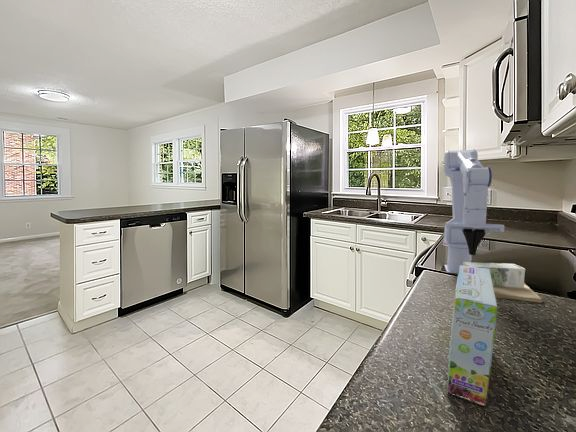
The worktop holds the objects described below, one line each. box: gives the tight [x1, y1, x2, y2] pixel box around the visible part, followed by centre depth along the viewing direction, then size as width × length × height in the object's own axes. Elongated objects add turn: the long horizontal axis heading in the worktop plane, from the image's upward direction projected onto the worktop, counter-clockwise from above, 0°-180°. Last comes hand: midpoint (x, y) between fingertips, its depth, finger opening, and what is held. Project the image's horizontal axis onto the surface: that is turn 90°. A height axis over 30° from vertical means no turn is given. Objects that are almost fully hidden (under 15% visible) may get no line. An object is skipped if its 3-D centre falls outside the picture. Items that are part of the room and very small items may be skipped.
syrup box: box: [463, 261, 526, 288], centre depth 87 cm, size 6×6×14 cm
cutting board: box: [493, 282, 543, 303], centre depth 85 cm, size 14×14×1 cm
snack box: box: [446, 265, 498, 404], centre depth 50 cm, size 21×6×15 cm, turn 148°
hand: (471, 254), depth 87 cm, fingers closed
